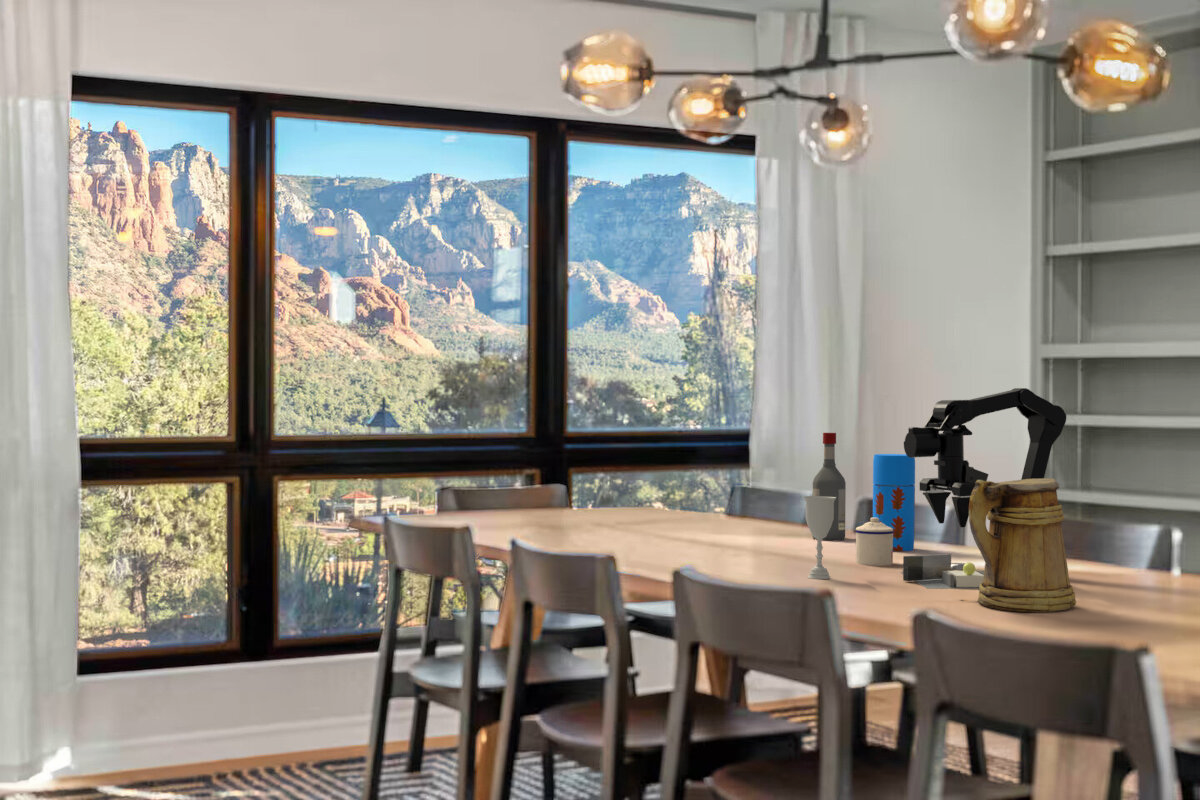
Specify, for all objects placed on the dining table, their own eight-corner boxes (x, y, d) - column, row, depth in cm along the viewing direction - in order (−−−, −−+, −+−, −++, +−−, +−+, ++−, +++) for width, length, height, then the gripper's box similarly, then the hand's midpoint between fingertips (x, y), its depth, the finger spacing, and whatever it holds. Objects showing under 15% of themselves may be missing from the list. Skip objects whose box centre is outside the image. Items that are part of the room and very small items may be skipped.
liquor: (812, 540, 394) (812, 433, 394) (812, 536, 403) (813, 432, 403) (845, 540, 393) (846, 433, 393) (844, 537, 402) (845, 432, 402)
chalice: (839, 576, 317) (839, 496, 317) (831, 580, 310) (831, 498, 310) (807, 574, 320) (808, 495, 320) (798, 578, 314) (799, 497, 313)
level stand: (996, 576, 319) (997, 560, 319) (1032, 592, 293) (1032, 575, 293) (900, 575, 319) (900, 559, 319) (927, 592, 293) (927, 574, 293)
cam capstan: (898, 580, 305) (898, 555, 305) (964, 575, 313) (965, 551, 313) (925, 585, 297) (925, 559, 297) (992, 580, 305) (993, 555, 305)
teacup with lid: (901, 568, 333) (901, 519, 333) (866, 569, 330) (867, 519, 330) (875, 562, 344) (875, 514, 344) (842, 563, 341) (842, 515, 341)
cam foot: (974, 582, 303) (975, 558, 303) (985, 587, 295) (985, 563, 295) (946, 581, 303) (947, 558, 303) (956, 587, 295) (956, 563, 295)
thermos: (918, 551, 368) (918, 456, 368) (876, 551, 368) (877, 455, 368) (909, 546, 379) (910, 454, 378) (869, 546, 379) (870, 453, 379)
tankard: (1096, 609, 272) (1097, 480, 272) (1006, 617, 261) (1007, 483, 260) (1026, 596, 288) (1027, 474, 288) (938, 604, 277) (939, 477, 276)
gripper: (1005, 456, 310) (1006, 527, 310) (960, 452, 328) (961, 519, 328) (960, 458, 307) (961, 530, 307) (917, 454, 325) (919, 522, 325)
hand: (952, 525), depth 317 cm, fingers open, 9 cm apart
